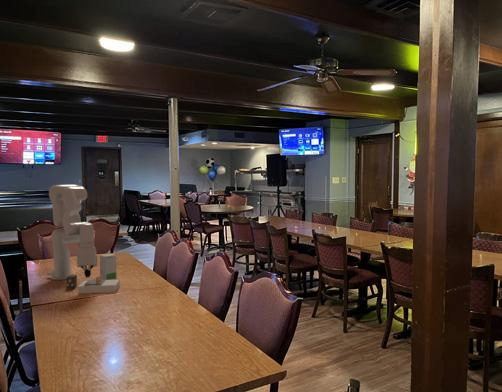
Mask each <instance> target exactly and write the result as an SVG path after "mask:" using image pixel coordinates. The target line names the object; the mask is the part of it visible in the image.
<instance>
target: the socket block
mask: <svg viewBox="0 0 502 392" xmlns="http://www.w3.org/2000/svg"><path fill="white" fill-rule="evenodd" d="M87 281H88V280H84V281H82V282H81V283H80V284H79V285H77V289H78V293H77V294H81V295H82V294H100V293H117V291H118V290H119V289H120V286H121V285H120V282H121V281H120V279H113V280H105V281H104V282H103V283H102V284H101V285H84V284H85V283H86V282H87Z"/></svg>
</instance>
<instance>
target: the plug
mask: <svg viewBox="0 0 502 392" xmlns="http://www.w3.org/2000/svg"><path fill="white" fill-rule="evenodd" d="M77 277H78V275H77V274H73V275H69V276H68V277H67V279H66V289H67V290H74V289H76V288H78V281H77V280H78V279H77Z"/></svg>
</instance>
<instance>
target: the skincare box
mask: <svg viewBox="0 0 502 392" xmlns="http://www.w3.org/2000/svg"><path fill="white" fill-rule="evenodd" d="M99 274H101V279H105V280H118V279H117V254H113V253H107V254H101V255H99Z"/></svg>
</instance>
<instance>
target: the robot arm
mask: <svg viewBox="0 0 502 392" xmlns="http://www.w3.org/2000/svg"><path fill="white" fill-rule="evenodd" d="M48 197H49V199H50V201H51V205H52V220H53V224H54V226H55V227H58V228H57V229H54V230H53V231H52V232H51V241H52V250H53V271H47V272H46V274H47V276H51V280H53V281H61V280H62V281H63V280H64V281H65V280H67V277H68V276H69V275H74V274H73V273H71V272H72V271H71V250H70V248H69V246H68V245H67V244H69V243H76V246H77V247H78V248H77V254H76V266H77V268H79V269H80V268H81V269H82V270H83V271H84V272H83V273H84V274H83V275H84V276H85V278H87V279H88V278H89V277H90V276H92V269H93V268H96V267H98V255H97V249H96V246H95V239H94V238H95V236H94V234H95V233H94V229H95V228H94V224H93V223H91V222H88V221H81V216H80V213H79V212H81V211H82V209H83V207H82V203H81V201H86V199H87V198H88V191H87V189H86V188H85V187H84V186H82V185H79V184H54V185H51V186H50V188H48ZM59 227H61V228H59ZM62 227H63V228H62Z"/></svg>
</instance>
